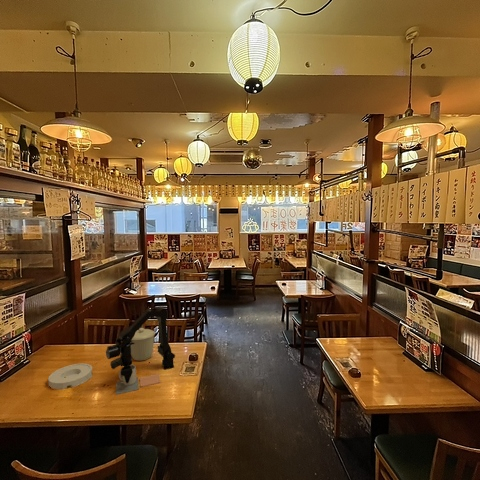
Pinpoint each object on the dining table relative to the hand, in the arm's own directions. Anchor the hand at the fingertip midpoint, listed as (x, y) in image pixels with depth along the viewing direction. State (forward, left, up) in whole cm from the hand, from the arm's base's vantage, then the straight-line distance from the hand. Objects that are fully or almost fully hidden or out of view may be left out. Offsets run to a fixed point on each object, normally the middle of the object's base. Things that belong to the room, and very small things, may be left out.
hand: (127, 378), depth 168 cm
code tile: (0, +3, -2) cm, 4 cm away
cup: (0, 0, -2) cm, 2 cm away
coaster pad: (-12, +3, -2) cm, 13 cm away
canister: (-10, -31, -3) cm, 33 cm away
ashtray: (+32, -20, -3) cm, 38 cm away
